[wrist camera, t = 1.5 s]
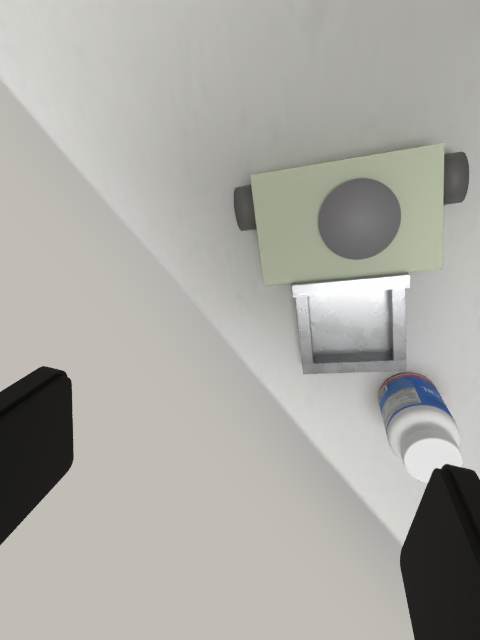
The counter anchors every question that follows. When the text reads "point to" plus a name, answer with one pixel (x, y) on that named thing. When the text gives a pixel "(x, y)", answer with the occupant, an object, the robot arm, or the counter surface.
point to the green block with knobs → (353, 214)
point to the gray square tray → (352, 323)
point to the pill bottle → (419, 425)
